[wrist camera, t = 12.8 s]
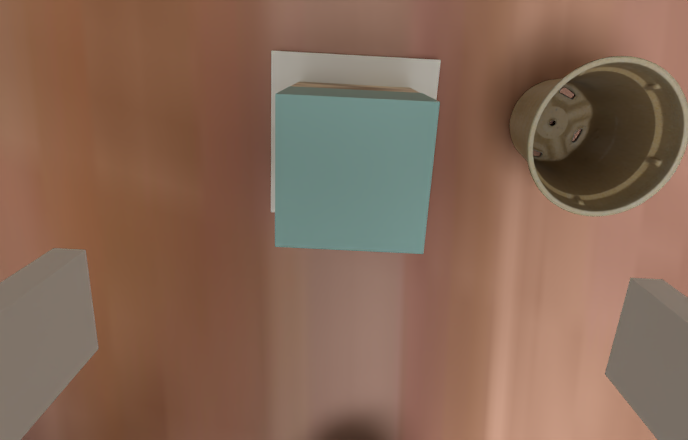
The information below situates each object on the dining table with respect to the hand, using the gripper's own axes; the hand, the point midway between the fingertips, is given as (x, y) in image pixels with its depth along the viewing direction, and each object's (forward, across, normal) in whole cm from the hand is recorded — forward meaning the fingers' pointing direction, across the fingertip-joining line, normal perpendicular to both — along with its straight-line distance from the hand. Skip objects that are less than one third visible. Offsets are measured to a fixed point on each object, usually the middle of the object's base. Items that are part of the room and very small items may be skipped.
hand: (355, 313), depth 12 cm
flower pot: (+27, +15, +2) cm, 31 cm away
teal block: (+20, 0, 0) cm, 20 cm away
